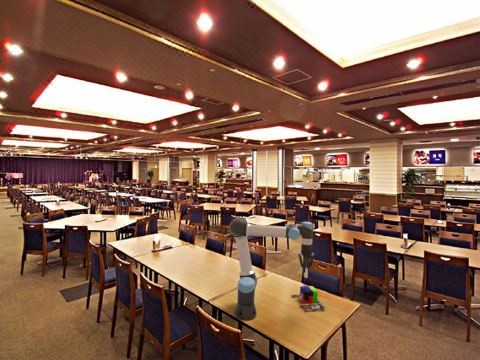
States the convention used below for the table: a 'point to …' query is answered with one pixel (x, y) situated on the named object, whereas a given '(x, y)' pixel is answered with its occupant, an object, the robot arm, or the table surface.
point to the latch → (315, 307)
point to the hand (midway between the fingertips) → (305, 276)
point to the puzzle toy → (308, 294)
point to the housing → (309, 305)
